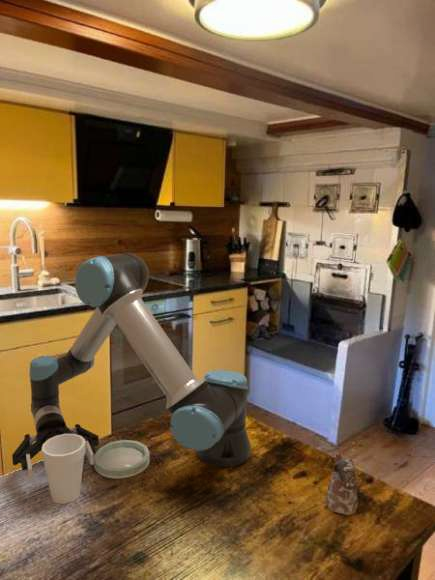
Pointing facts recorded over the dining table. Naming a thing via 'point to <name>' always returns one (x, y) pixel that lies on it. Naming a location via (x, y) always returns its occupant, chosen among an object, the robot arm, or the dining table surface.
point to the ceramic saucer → (121, 459)
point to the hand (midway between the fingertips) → (62, 466)
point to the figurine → (342, 487)
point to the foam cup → (64, 466)
